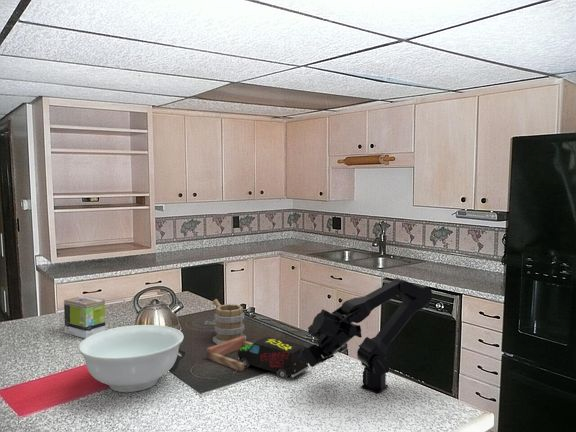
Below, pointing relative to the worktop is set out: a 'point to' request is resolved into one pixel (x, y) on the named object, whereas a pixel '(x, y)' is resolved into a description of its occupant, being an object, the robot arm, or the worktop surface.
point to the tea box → (84, 316)
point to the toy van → (275, 356)
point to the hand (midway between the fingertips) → (310, 362)
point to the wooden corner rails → (224, 348)
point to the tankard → (228, 322)
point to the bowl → (131, 355)
